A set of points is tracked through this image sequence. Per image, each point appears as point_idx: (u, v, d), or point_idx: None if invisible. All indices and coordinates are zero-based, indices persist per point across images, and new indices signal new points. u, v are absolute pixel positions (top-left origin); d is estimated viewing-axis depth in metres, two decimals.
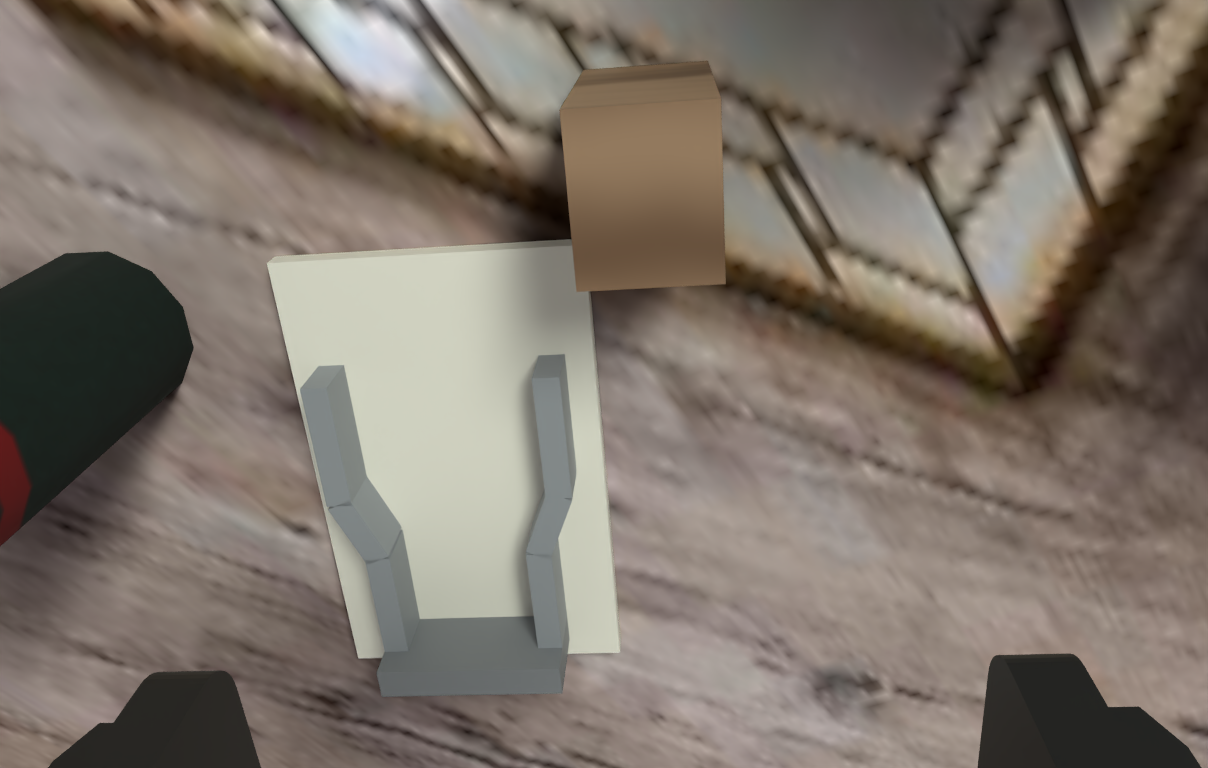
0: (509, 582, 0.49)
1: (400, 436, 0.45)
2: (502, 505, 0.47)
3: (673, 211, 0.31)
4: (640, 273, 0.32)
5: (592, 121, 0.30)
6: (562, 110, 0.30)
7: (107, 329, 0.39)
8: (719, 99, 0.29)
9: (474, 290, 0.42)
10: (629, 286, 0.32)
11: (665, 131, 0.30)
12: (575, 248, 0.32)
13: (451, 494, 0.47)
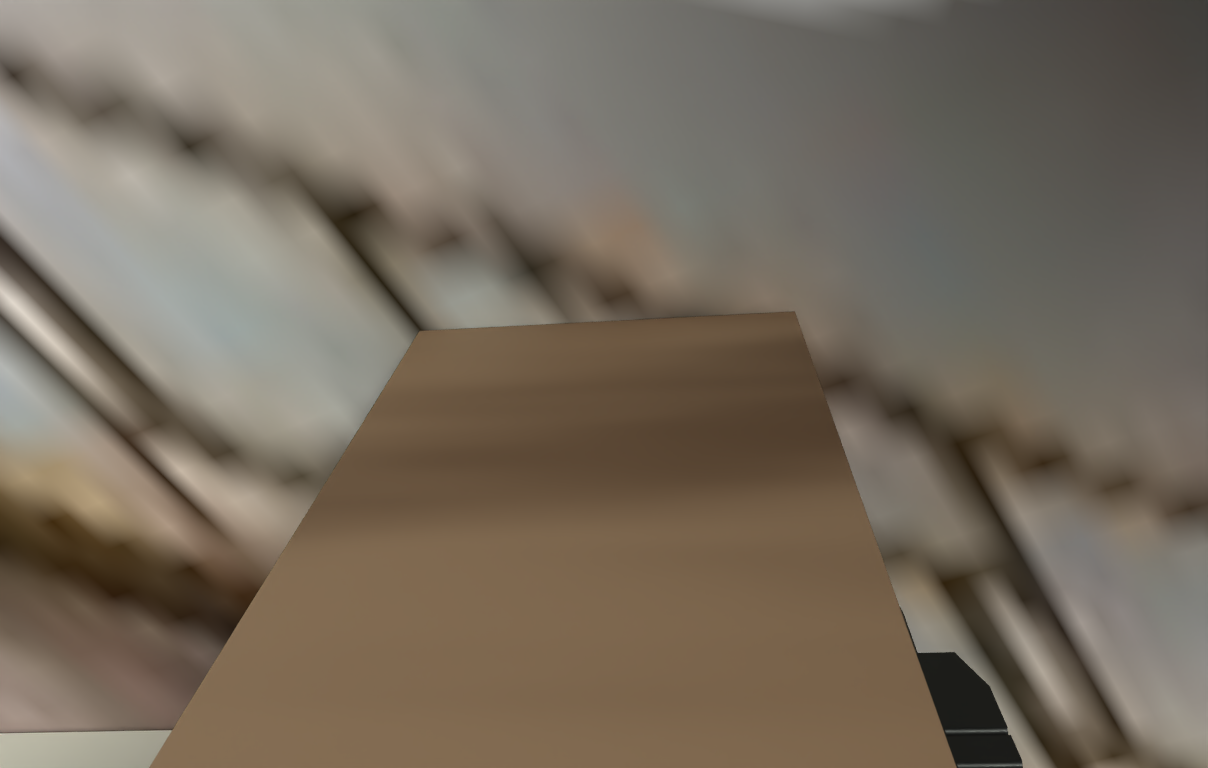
0: None
1: None
2: None
3: None
4: None
5: None
6: None
7: None
8: None
9: None
10: None
11: None
12: None
13: None
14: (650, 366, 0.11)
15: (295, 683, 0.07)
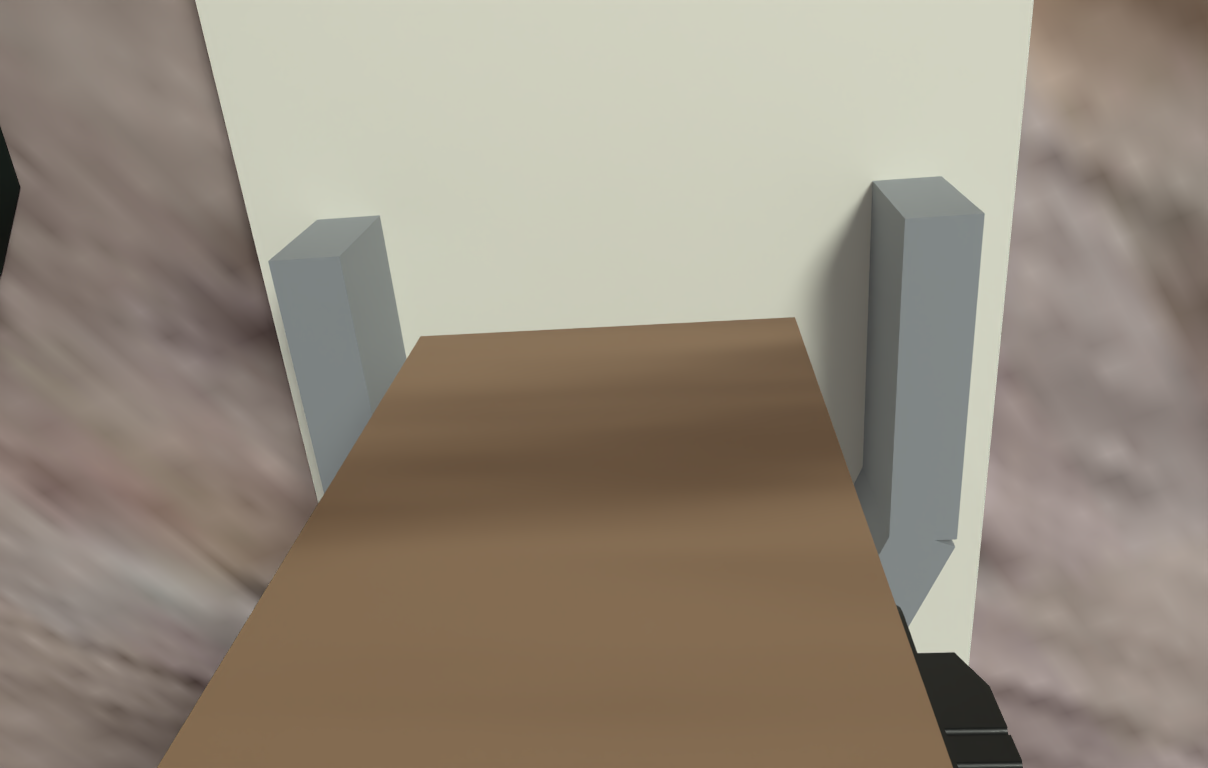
0: None
1: None
2: None
3: None
4: None
5: None
6: None
7: None
8: None
9: None
10: None
11: None
12: None
13: None
14: (651, 372, 0.11)
15: (297, 692, 0.07)
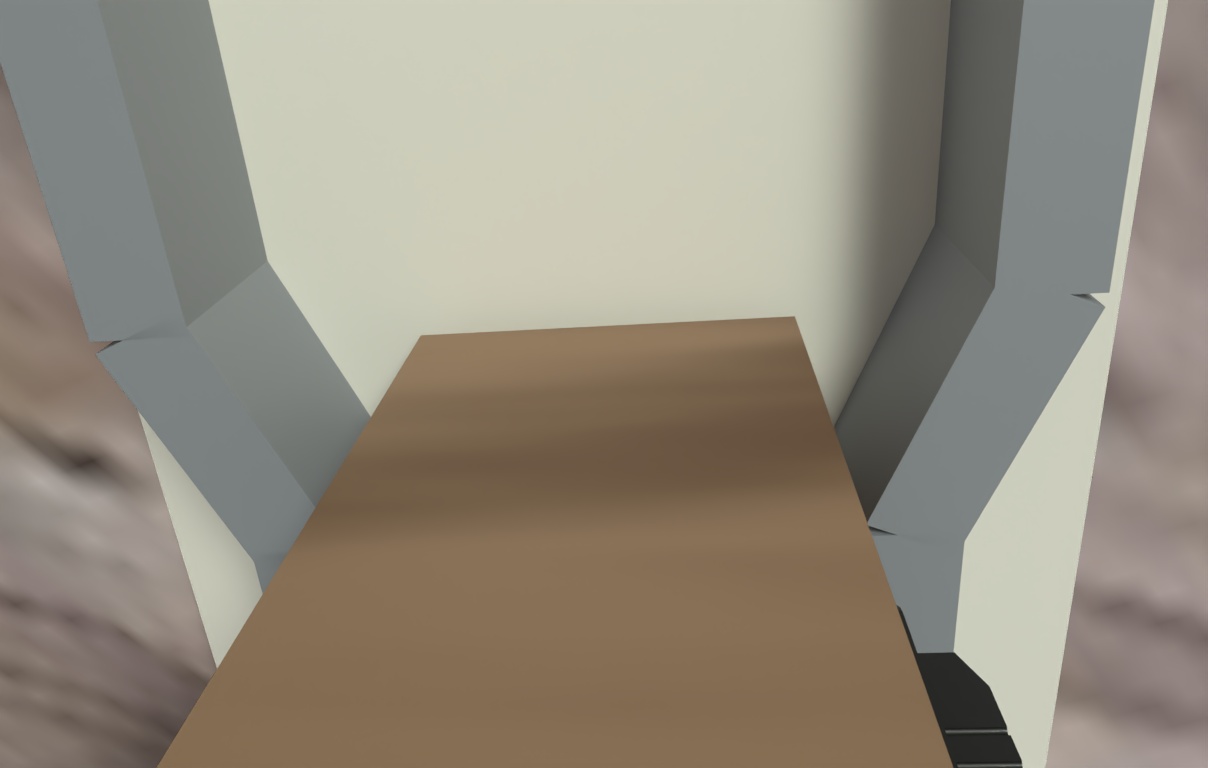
0: None
1: (385, 96, 0.12)
2: None
3: None
4: None
5: None
6: None
7: None
8: None
9: None
10: None
11: None
12: None
13: None
14: (651, 371, 0.11)
15: (298, 689, 0.07)
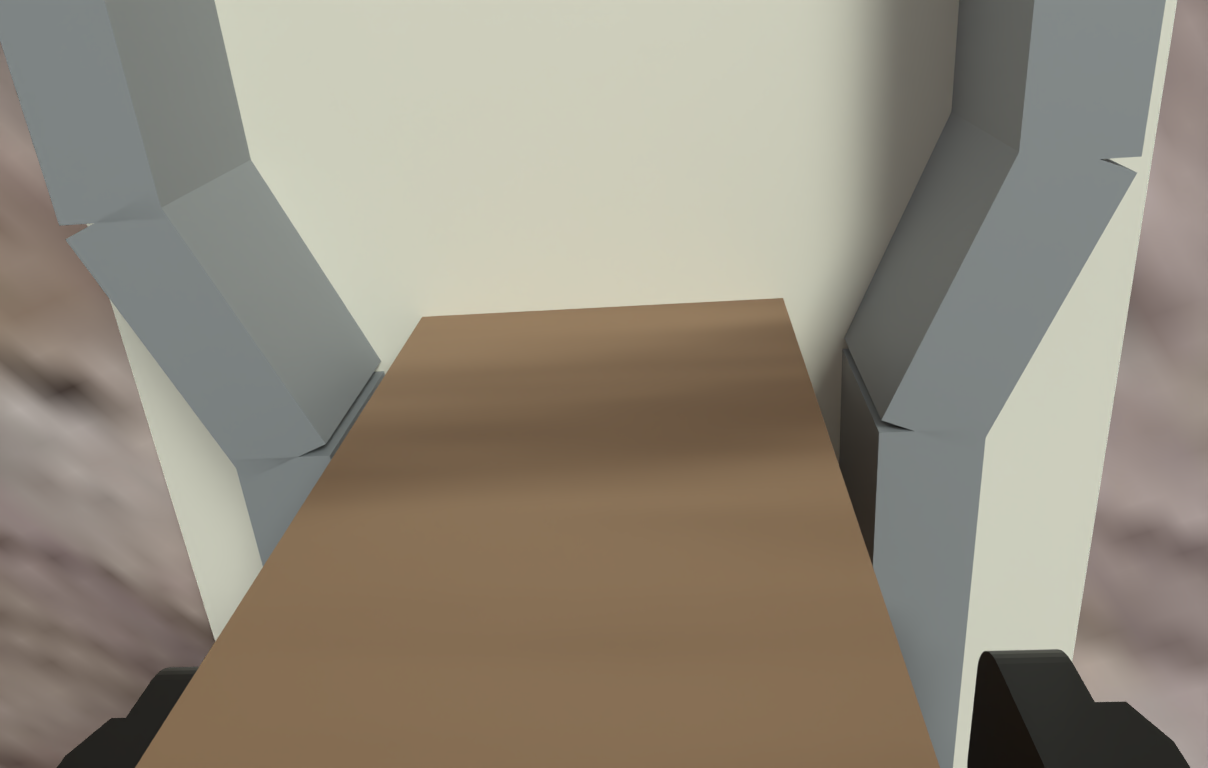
0: None
1: None
2: (743, 273, 0.13)
3: None
4: None
5: None
6: None
7: None
8: None
9: None
10: None
11: None
12: None
13: (560, 230, 0.13)
14: (643, 349, 0.12)
15: (308, 633, 0.07)
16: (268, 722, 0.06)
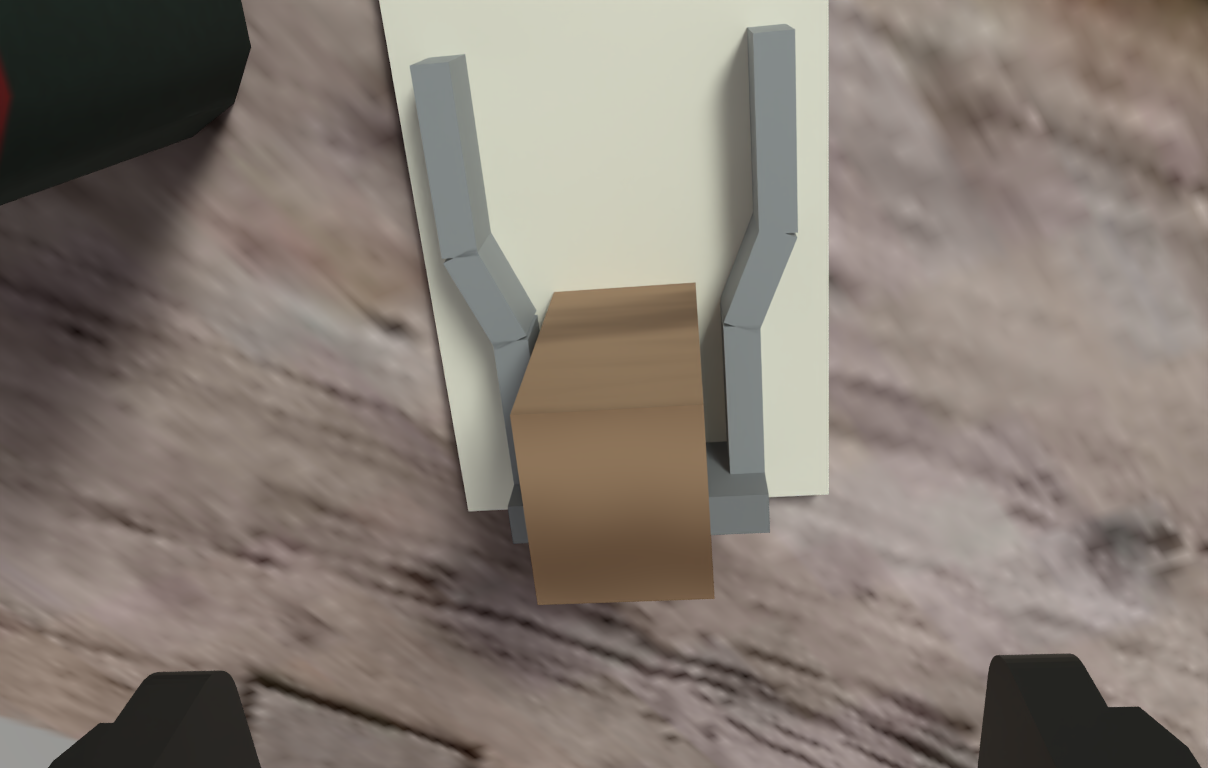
0: None
1: (541, 167, 0.32)
2: (679, 272, 0.33)
3: (649, 522, 0.26)
4: (612, 586, 0.27)
5: (549, 427, 0.25)
6: (513, 416, 0.25)
7: None
8: (701, 405, 0.24)
9: None
10: (600, 600, 0.27)
11: (638, 439, 0.25)
12: (534, 559, 0.27)
13: (608, 257, 0.33)
14: (640, 300, 0.32)
15: (550, 365, 0.28)
16: (548, 378, 0.27)
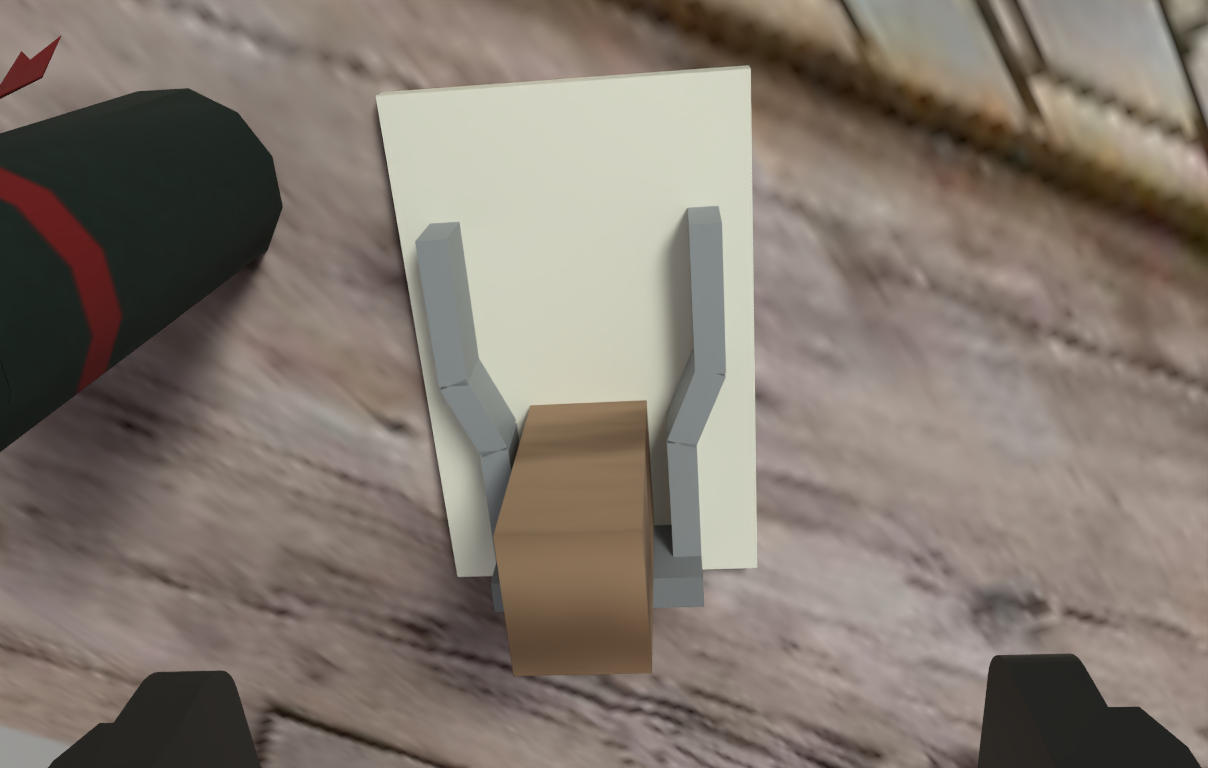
0: None
1: (520, 309, 0.39)
2: (633, 392, 0.41)
3: (601, 616, 0.33)
4: (572, 663, 0.34)
5: (524, 546, 0.32)
6: (495, 537, 0.32)
7: (196, 160, 0.33)
8: (640, 532, 0.32)
9: (617, 127, 0.36)
10: (562, 673, 0.35)
11: (592, 555, 0.32)
12: (511, 642, 0.34)
13: (575, 379, 0.41)
14: (600, 418, 0.40)
15: (526, 486, 0.35)
16: (523, 499, 0.34)
